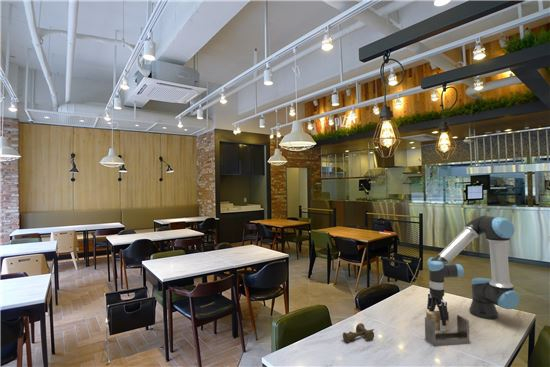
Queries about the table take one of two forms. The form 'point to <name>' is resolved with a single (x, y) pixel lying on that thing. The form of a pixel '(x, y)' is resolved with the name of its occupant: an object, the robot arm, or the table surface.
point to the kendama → (359, 333)
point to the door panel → (436, 319)
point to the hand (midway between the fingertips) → (437, 326)
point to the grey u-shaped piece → (448, 337)
